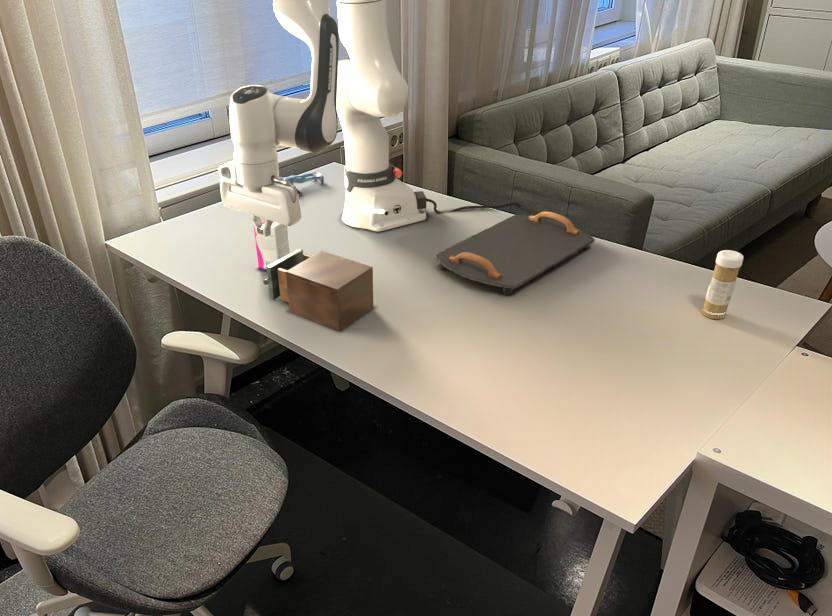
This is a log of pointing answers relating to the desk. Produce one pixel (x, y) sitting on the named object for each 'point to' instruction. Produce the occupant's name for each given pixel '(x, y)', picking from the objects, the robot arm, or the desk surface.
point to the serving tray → (515, 250)
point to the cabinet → (330, 290)
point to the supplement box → (272, 245)
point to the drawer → (282, 274)
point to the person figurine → (305, 179)
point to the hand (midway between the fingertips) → (263, 234)
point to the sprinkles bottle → (722, 283)
